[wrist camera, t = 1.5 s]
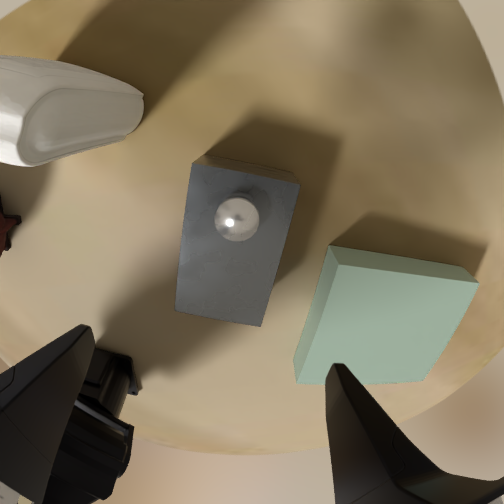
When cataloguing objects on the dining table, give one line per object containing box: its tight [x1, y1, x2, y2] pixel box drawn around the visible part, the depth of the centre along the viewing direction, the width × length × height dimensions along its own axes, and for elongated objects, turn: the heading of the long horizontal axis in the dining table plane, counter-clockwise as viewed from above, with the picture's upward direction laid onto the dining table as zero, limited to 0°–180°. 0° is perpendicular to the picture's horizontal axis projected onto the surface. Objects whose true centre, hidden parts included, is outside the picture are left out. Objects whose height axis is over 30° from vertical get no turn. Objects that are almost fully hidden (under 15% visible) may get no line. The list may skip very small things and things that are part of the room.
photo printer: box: [0, 55, 144, 167], centre depth 11 cm, size 10×4×12 cm, turn 62°
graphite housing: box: [175, 155, 301, 327], centre depth 19 cm, size 10×6×5 cm, turn 168°
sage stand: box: [293, 245, 480, 385], centre depth 23 cm, size 12×14×3 cm
